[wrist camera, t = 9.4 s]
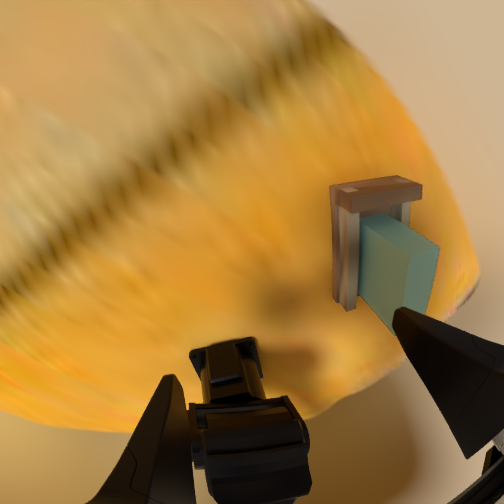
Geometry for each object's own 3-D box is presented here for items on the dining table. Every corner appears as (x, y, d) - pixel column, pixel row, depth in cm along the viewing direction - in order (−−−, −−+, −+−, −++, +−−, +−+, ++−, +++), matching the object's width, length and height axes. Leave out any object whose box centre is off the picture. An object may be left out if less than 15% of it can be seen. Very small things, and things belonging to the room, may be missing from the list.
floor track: (390, 279, 26) (409, 296, 23) (333, 298, 26) (348, 319, 23) (397, 175, 21) (422, 184, 18) (329, 185, 20) (351, 197, 17)
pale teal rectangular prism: (380, 279, 25) (423, 322, 19) (354, 288, 25) (394, 336, 18) (385, 212, 22) (441, 246, 15) (356, 219, 21) (410, 257, 15)
